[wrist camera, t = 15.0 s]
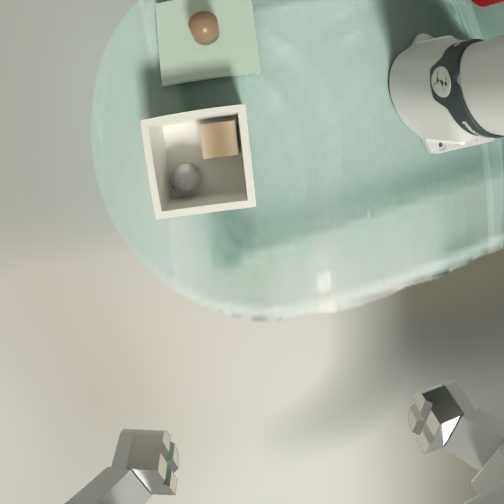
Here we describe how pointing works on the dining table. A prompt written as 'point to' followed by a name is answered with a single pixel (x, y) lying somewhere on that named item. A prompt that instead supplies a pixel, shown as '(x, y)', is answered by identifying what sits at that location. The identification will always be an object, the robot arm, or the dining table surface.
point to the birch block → (219, 139)
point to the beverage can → (486, 2)
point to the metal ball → (185, 178)
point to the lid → (206, 40)
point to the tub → (197, 163)
